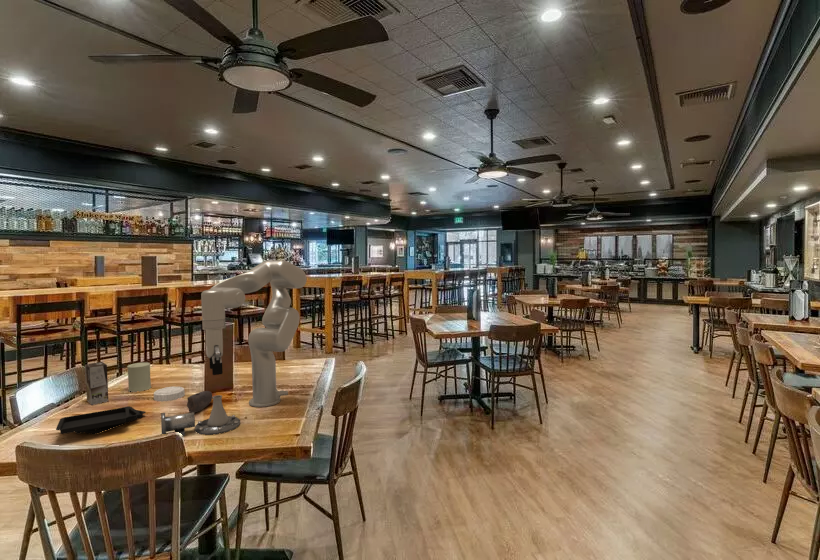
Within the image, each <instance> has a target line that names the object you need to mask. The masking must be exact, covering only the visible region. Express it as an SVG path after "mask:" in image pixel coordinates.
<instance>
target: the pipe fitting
mask: <svg viewBox="0 0 820 560" xmlns="http://www.w3.org/2000/svg"><path fill="white" fill-rule="evenodd" d="M227 416H228V418H229V422H228V423H227V424H224V425H222V426H214V427H211V426H208V425H207V423H208V420H209V418H207V419H204V420H200V421H199V420H198V421H197V423H196V417H195V413H194V412H187V413H182V414H174V415H170V416H166V412H162V413H160V418H161V419H160V420H161V421H160V423H161V426H160V427H161V435H162V434H166V435H167V432H174V433H175V432H179V433H181V434H182V435H183V436H182V437H185V436H186V429H189V428H194V432H195V431H196V432H197V433H196V432H195V433H196V434H198V433H199V434H198V435H202V434H205V435H204V436H213V434H215V435H220V434H219V433H221V434H225V433H228V432H231V431H233V430H236V429H237V428H238V427H239V426H240V425H241V419H240V418H238V417H237V416H236V415H235V414H233V415H227ZM236 427H237V428H236ZM230 430H231V431H230ZM224 432H225V433H224Z"/></svg>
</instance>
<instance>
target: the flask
mask: <svg viewBox="0 0 820 560" xmlns="http://www.w3.org/2000/svg"><path fill="white" fill-rule="evenodd" d="M222 398H223V395H220V394H217V395H212V408H211V411H210V415H209V417H208V419H209V420H208V423H207V425H208V426H211V427H214V426H222V425H224V424H227V423H228V422H229V418H228V416H229V415H228V414H227V411H226V410H225V407H224V405H223V401H222Z"/></svg>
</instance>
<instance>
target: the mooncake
mask: <svg viewBox="0 0 820 560" xmlns="http://www.w3.org/2000/svg"><path fill="white" fill-rule="evenodd" d="M184 397H185V388H184V387H183V386H173V385H172V386H166V387H163V388H159V389H156V390H155V391H154V392H153V400H154V401H155V402H171V401H175V400H178V398H179V399H181V398H184Z"/></svg>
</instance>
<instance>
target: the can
mask: <svg viewBox="0 0 820 560" xmlns="http://www.w3.org/2000/svg"><path fill="white" fill-rule="evenodd" d="M126 368H127V379H128V392H130V391H131V392H130V393H137V391H139V392H144V390H145V391H147V390H150V389H151V388H152V382H151V381H152V380H151V363H150V362H136V363H132V364H129V365H127V366H126Z"/></svg>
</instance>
